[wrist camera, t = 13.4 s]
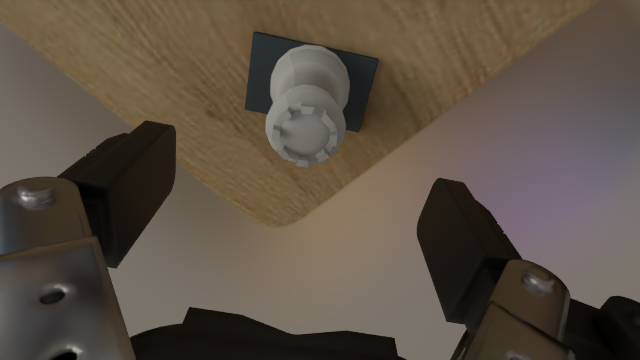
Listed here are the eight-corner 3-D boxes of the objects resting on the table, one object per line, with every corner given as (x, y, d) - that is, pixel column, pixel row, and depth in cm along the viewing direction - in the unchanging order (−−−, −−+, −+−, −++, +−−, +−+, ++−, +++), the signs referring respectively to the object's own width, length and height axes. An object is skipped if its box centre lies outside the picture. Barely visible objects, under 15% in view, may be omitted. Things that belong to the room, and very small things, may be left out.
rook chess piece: (256, 67, 20) (222, 114, 13) (326, 27, 19) (329, 56, 12) (296, 133, 22) (284, 204, 15) (362, 99, 21) (381, 159, 14)
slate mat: (378, 58, 21) (378, 59, 20) (358, 130, 23) (358, 132, 22) (254, 31, 20) (253, 32, 20) (246, 107, 22) (244, 109, 22)
